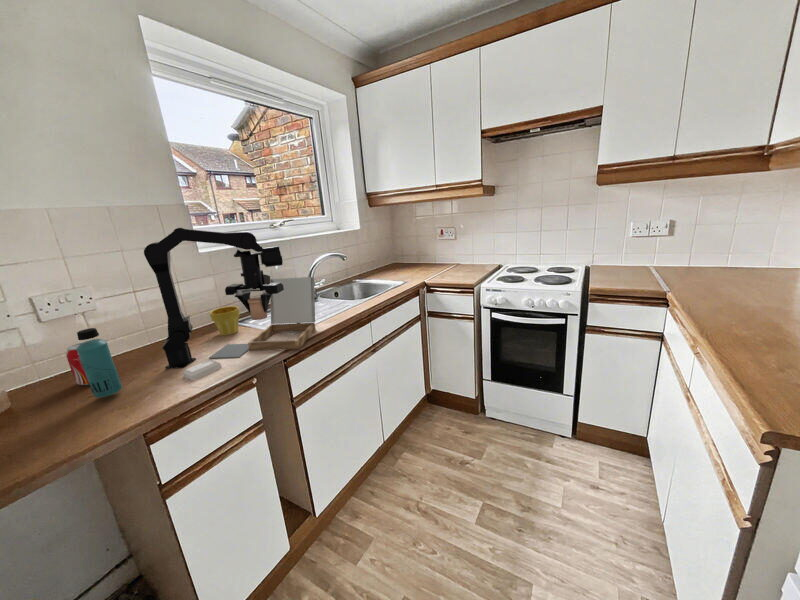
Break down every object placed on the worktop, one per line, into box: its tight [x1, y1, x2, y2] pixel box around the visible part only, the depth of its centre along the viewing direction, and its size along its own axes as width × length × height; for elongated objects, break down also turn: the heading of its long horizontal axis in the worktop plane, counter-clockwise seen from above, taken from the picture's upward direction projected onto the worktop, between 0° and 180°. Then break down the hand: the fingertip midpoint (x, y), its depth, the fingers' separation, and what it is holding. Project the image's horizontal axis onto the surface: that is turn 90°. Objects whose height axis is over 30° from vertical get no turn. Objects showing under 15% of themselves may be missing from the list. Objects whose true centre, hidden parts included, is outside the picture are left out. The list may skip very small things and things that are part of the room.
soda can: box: [65, 342, 89, 386], centre depth 103 cm, size 7×7×12 cm
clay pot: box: [248, 296, 268, 321], centre depth 119 cm, size 6×6×7 cm
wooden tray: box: [247, 322, 317, 352], centre depth 126 cm, size 18×18×3 cm
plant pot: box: [209, 305, 241, 336], centre depth 137 cm, size 10×10×10 cm
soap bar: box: [182, 359, 222, 381], centre depth 104 cm, size 5×9×3 cm, turn 146°
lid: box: [270, 276, 316, 325], centre depth 135 cm, size 18×18×1 cm
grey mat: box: [208, 343, 249, 360], centre depth 119 cm, size 11×11×1 cm
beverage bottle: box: [76, 327, 123, 398], centre depth 91 cm, size 6×7×20 cm
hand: (258, 312), depth 120 cm, fingers closed on clay pot, 5 cm apart
